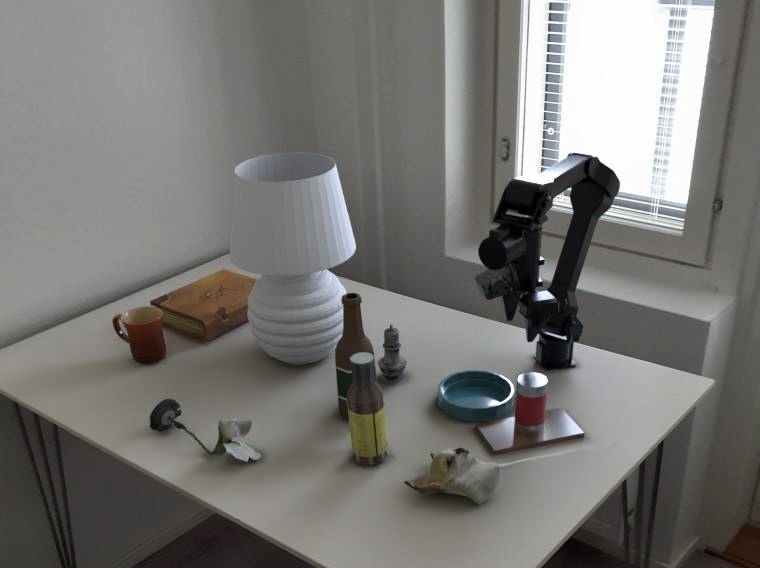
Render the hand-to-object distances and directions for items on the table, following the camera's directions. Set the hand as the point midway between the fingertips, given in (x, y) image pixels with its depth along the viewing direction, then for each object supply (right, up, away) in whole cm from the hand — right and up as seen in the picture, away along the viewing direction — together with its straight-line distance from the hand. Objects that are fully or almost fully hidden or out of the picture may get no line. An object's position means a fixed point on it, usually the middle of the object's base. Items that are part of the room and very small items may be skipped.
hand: (519, 330), depth 160 cm
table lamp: (-42, -3, +25) cm, 49 cm away
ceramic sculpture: (-14, -28, -19) cm, 36 cm away
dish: (-8, -13, +4) cm, 16 cm away
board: (+1, -19, -6) cm, 20 cm away
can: (+1, -18, -6) cm, 19 cm away
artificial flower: (-57, -21, -4) cm, 61 cm away
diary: (-63, +7, +42) cm, 76 cm away
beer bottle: (-30, -15, +3) cm, 34 cm away
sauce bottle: (-28, -23, -9) cm, 38 cm away
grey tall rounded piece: (-23, -8, +14) cm, 28 cm away
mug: (-76, -3, +27) cm, 81 cm away
